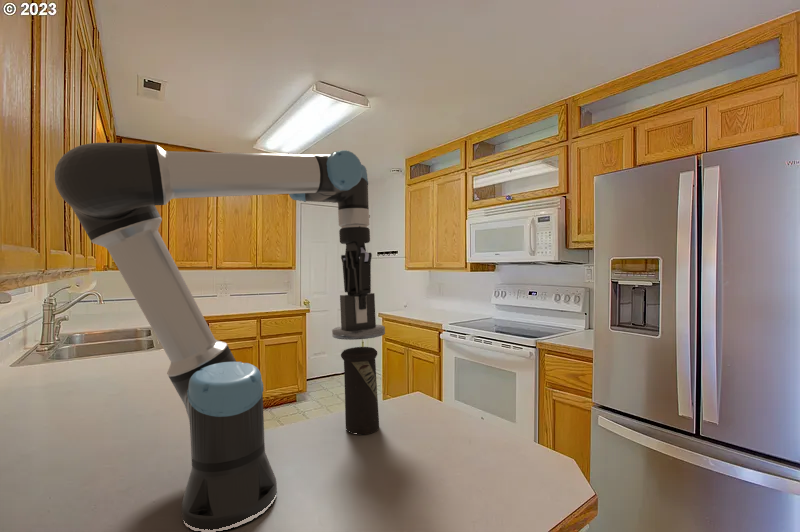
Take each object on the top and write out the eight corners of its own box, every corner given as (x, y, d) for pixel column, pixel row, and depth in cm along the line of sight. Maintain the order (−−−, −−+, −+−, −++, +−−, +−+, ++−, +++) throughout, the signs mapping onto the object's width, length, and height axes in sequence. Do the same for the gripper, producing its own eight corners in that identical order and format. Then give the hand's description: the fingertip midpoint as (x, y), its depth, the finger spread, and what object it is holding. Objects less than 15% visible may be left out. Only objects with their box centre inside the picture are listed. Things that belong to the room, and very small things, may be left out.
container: (371, 438, 91) (368, 352, 91) (337, 433, 94) (334, 351, 94) (385, 423, 99) (382, 345, 99) (354, 419, 102) (351, 343, 102)
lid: (394, 334, 94) (392, 293, 94) (344, 341, 88) (342, 297, 88) (370, 328, 106) (369, 291, 106) (325, 334, 99) (323, 294, 99)
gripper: (382, 224, 91) (387, 323, 92) (355, 230, 105) (358, 317, 106) (353, 223, 88) (358, 327, 88) (328, 230, 102) (332, 320, 102)
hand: (358, 321), depth 97 cm, fingers closed on lid, 3 cm apart
